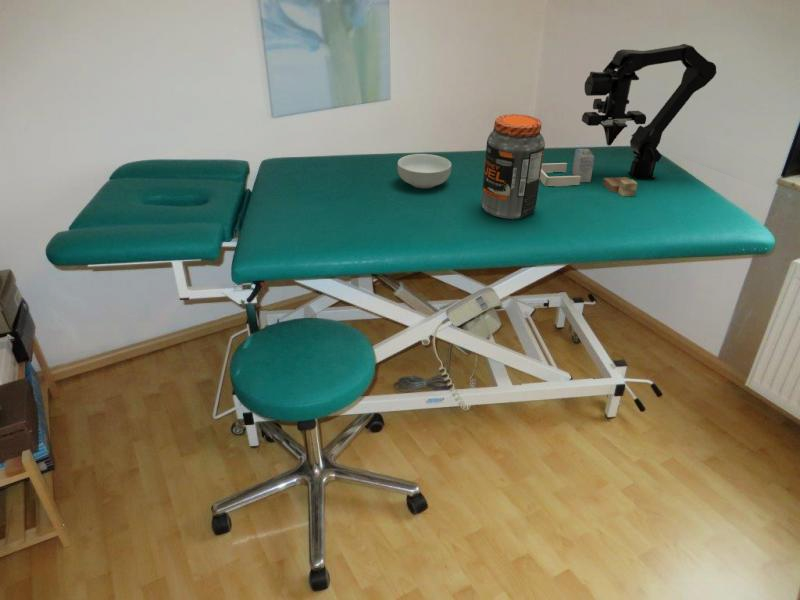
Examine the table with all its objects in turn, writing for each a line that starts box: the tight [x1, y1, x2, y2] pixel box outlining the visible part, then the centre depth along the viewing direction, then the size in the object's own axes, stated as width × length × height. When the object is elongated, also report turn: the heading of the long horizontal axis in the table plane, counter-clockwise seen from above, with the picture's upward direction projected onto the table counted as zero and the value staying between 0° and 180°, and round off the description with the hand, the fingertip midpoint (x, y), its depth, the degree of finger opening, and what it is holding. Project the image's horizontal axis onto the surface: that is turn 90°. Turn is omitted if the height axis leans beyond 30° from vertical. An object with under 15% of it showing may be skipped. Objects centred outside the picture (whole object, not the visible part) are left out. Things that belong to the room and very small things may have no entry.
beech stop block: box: [617, 179, 638, 197], centre depth 185 cm, size 4×3×4 cm
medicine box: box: [571, 148, 595, 183], centre depth 194 cm, size 8×4×9 cm, turn 179°
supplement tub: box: [481, 113, 546, 220], centre depth 168 cm, size 16×16×26 cm
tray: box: [540, 162, 581, 188], centre depth 195 cm, size 11×13×3 cm
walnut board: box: [602, 176, 638, 193], centre depth 190 cm, size 8×7×2 cm
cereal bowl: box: [397, 153, 452, 189], centre depth 189 cm, size 17×17×7 cm
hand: (608, 145), depth 192 cm, fingers closed
